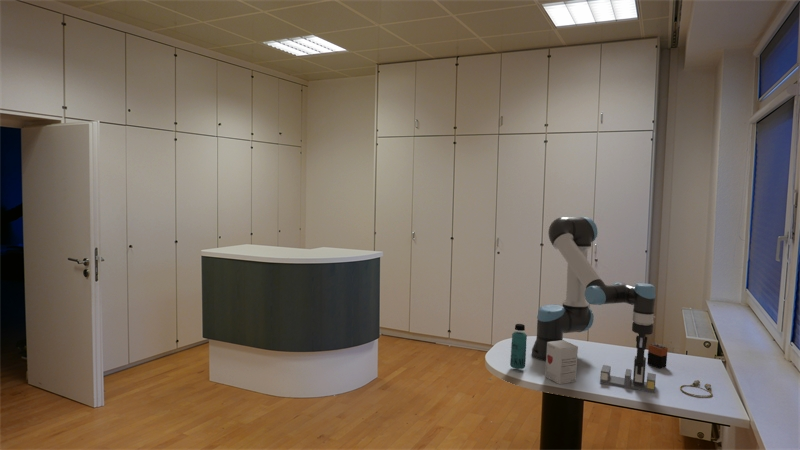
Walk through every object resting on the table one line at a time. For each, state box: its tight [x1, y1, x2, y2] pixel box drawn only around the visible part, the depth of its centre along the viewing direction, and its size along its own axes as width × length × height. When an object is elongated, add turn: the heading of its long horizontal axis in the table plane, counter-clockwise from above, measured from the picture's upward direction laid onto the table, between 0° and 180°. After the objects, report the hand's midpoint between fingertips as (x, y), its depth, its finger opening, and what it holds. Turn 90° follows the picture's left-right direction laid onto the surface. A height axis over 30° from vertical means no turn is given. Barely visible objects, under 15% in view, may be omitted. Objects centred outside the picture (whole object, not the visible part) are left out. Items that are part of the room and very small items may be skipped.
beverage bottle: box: [509, 323, 528, 370], centre depth 226 cm, size 6×7×20 cm
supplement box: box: [544, 339, 579, 385], centre depth 217 cm, size 9×9×15 cm
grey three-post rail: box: [599, 364, 657, 394], centre depth 213 cm, size 20×8×5 cm, turn 63°
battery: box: [646, 342, 668, 369], centre depth 236 cm, size 4×7×10 cm, turn 27°
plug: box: [632, 355, 647, 385], centre depth 211 cm, size 4×4×11 cm
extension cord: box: [679, 380, 714, 399], centre depth 209 cm, size 12×16×2 cm
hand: (638, 379), depth 212 cm, fingers closed on plug, 4 cm apart
